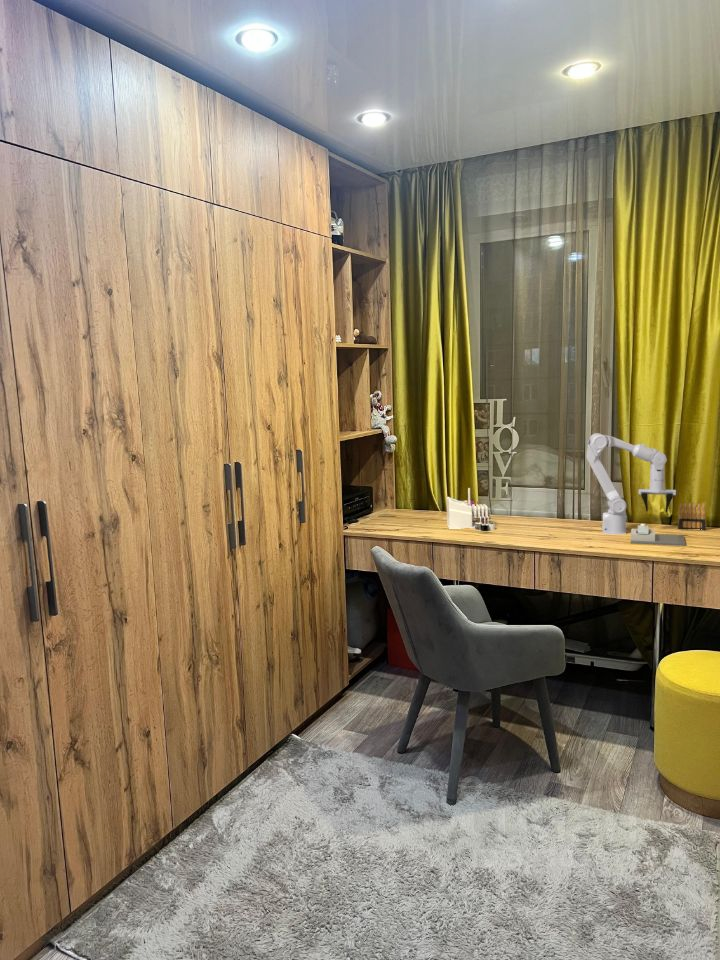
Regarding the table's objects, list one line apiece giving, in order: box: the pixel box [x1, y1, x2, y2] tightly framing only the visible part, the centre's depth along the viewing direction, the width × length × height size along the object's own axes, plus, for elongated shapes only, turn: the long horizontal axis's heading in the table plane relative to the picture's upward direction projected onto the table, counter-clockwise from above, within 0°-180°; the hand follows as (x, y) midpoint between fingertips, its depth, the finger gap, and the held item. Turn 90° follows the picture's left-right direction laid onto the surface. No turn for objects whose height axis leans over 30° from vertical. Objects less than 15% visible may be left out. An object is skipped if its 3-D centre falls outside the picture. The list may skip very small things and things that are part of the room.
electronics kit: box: [443, 487, 496, 532], centre depth 329 cm, size 45×26×16 cm, turn 179°
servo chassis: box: [630, 528, 686, 547], centre depth 280 cm, size 20×16×4 cm
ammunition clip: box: [677, 502, 707, 531], centre depth 296 cm, size 11×2×12 cm, turn 69°
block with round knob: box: [637, 523, 649, 534], centre depth 282 cm, size 4×10×5 cm, turn 158°
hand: (656, 511), depth 293 cm, fingers open, 7 cm apart
